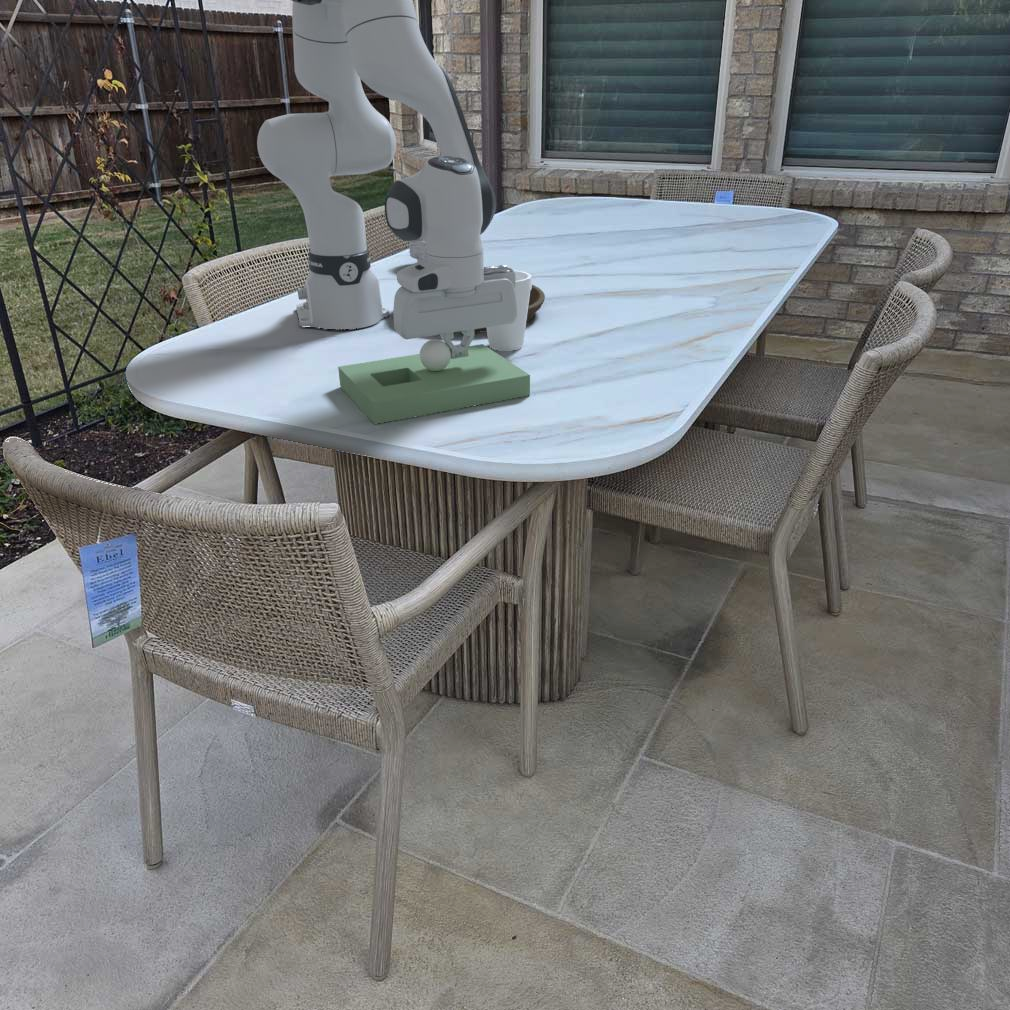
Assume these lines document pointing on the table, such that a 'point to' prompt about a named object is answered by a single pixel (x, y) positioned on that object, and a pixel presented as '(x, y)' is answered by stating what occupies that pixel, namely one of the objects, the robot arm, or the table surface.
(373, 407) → the green
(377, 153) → the robot arm
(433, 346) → the ball
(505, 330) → the foam cup
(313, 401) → the table surface
